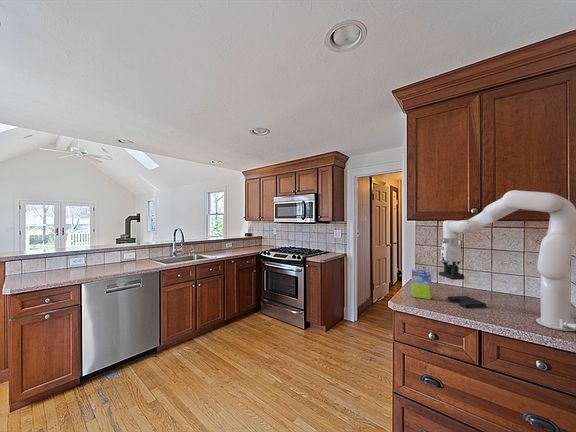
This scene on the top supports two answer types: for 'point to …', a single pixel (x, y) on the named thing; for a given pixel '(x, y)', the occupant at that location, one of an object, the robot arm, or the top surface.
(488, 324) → the top surface
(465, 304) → the base pad
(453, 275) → the pad
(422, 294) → the box
